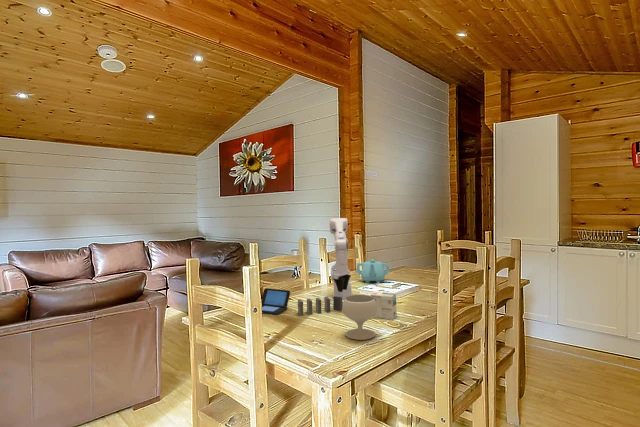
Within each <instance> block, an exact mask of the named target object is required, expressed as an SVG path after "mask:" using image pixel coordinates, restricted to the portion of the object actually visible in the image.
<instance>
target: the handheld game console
mask: <svg viewBox="0 0 640 427" xmlns="http://www.w3.org/2000/svg"><path fill="white" fill-rule="evenodd" d="M263 289H264V290H263V292H262V296H261V300H262V312H263V313H262V314H265V315H271V314H272V316H273V315H274V316H278V315H281V314H282V313H284V312H287V310H288V304H289V300H290V295H291V291H290V290H286V289H280V288H279V289H277V288H276V289H275V288H270V287H269V288H268V287H265V288H263ZM261 300H260V301H261Z"/></svg>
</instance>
